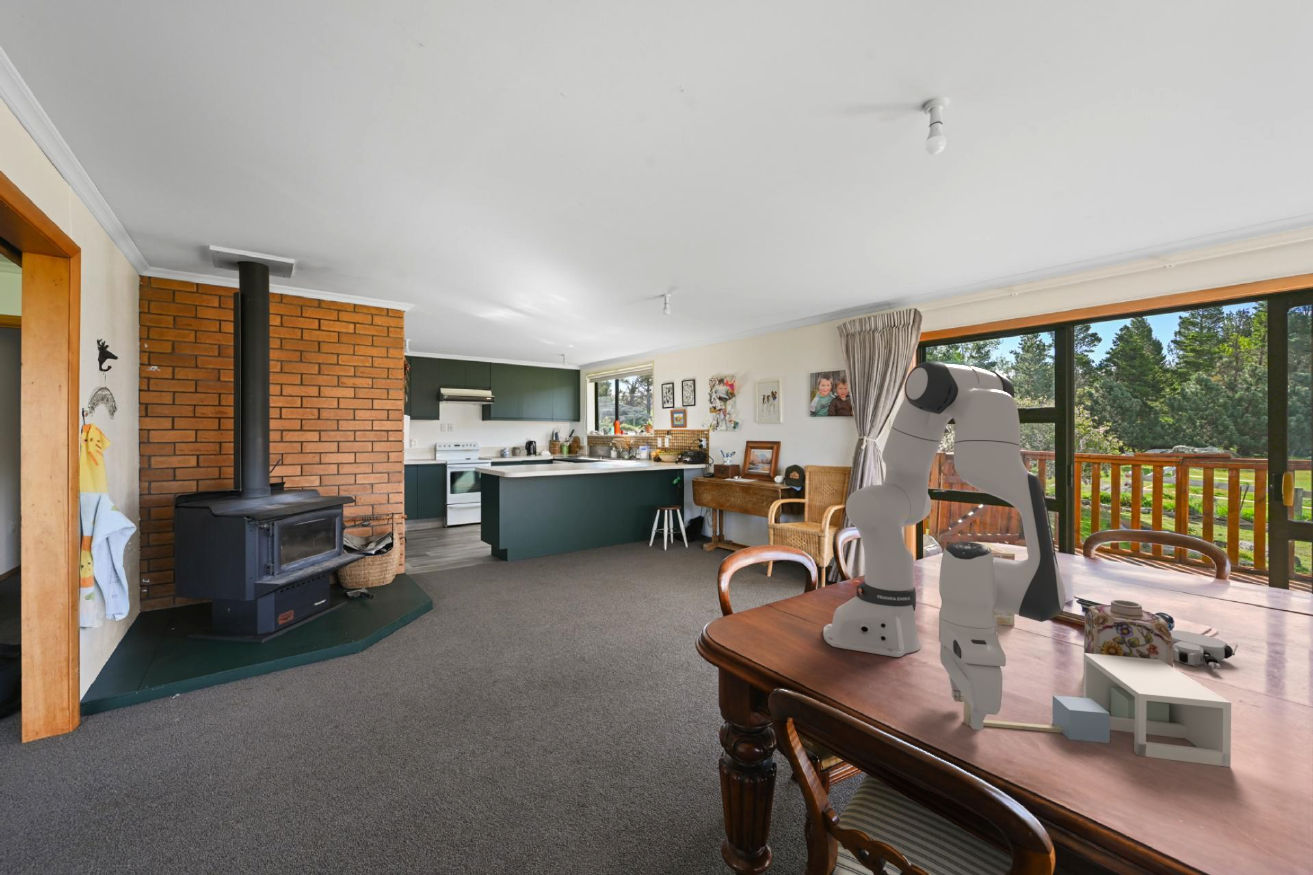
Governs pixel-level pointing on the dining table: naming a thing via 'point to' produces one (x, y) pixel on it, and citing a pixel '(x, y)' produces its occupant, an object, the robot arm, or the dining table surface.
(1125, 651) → the decorative jar
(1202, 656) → the robot toy
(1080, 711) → the corded block
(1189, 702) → the shelf
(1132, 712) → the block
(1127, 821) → the dining table surface
